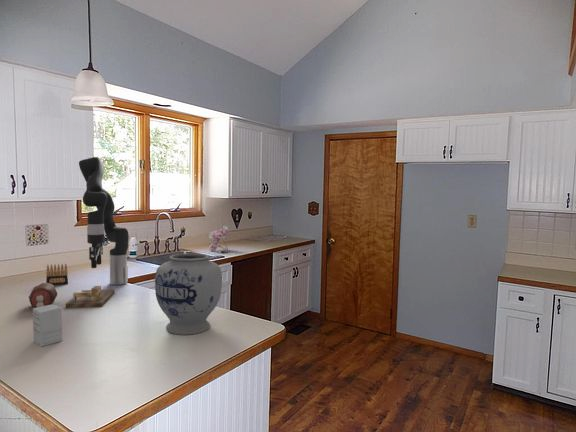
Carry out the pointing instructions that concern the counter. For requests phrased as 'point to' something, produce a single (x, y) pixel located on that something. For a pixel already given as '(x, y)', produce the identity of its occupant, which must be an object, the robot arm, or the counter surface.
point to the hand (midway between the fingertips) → (96, 266)
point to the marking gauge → (90, 294)
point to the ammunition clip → (57, 275)
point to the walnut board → (87, 300)
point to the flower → (217, 237)
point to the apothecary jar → (188, 292)
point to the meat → (43, 295)
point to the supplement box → (47, 324)
